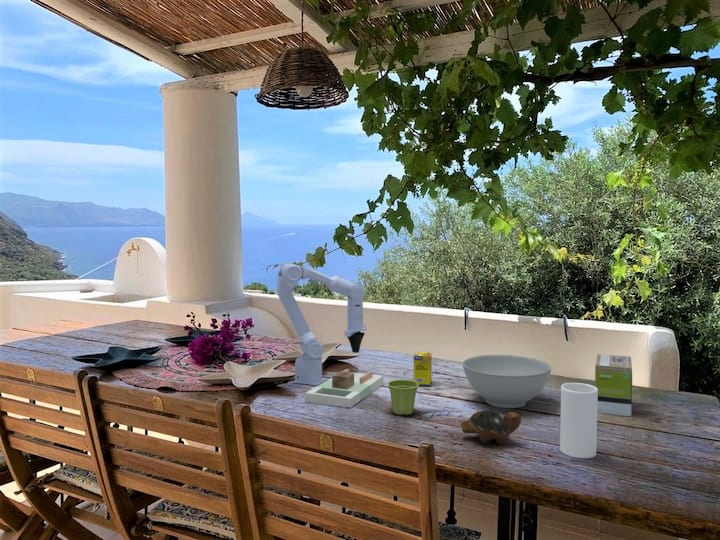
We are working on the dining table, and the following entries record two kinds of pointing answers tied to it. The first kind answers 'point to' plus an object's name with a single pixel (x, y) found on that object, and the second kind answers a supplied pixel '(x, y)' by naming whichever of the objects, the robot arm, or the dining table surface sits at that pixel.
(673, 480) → the dining table surface
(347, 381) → the walnut block
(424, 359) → the supplement box
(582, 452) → the cup
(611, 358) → the tea box
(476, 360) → the decorative bowl
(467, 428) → the decorative turtle
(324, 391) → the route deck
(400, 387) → the plant pot
